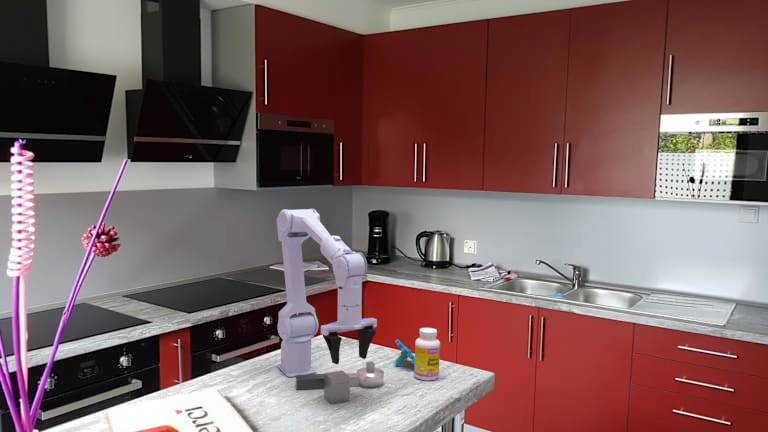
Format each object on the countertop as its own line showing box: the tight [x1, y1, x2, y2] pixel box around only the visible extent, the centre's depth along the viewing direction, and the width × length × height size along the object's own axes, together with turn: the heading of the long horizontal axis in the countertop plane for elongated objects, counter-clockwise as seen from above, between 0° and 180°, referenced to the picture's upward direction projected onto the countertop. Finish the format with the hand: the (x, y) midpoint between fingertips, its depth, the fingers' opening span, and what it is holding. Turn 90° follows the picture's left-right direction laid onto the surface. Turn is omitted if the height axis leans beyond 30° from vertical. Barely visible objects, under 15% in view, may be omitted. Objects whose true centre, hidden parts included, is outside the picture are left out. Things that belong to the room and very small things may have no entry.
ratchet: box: [295, 360, 385, 391], centre depth 148 cm, size 10×22×6 cm, turn 118°
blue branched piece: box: [394, 339, 415, 367], centre depth 165 cm, size 11×6×10 cm
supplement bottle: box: [413, 327, 441, 381], centre depth 156 cm, size 7×7×13 cm
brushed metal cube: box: [323, 370, 351, 405], centre depth 139 cm, size 5×5×6 cm
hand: (349, 360), depth 139 cm, fingers open, 7 cm apart
